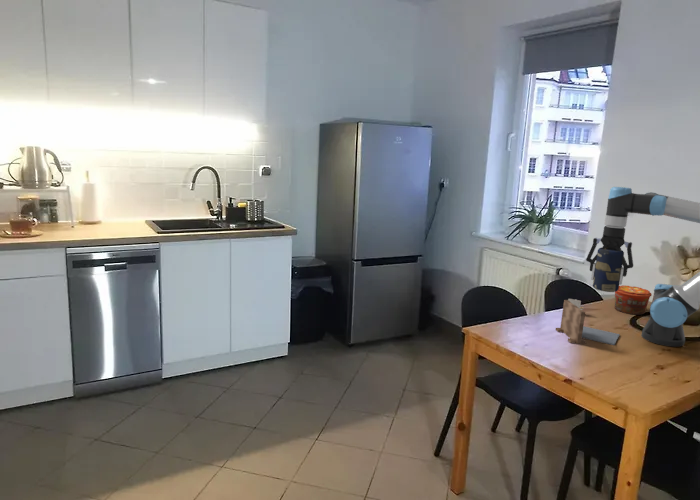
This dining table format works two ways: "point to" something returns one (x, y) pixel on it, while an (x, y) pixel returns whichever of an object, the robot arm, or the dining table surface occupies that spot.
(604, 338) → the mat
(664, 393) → the dining table surface
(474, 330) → the dining table surface
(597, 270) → the canister
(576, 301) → the architectural model
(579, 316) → the tan upright piece
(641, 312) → the food container
